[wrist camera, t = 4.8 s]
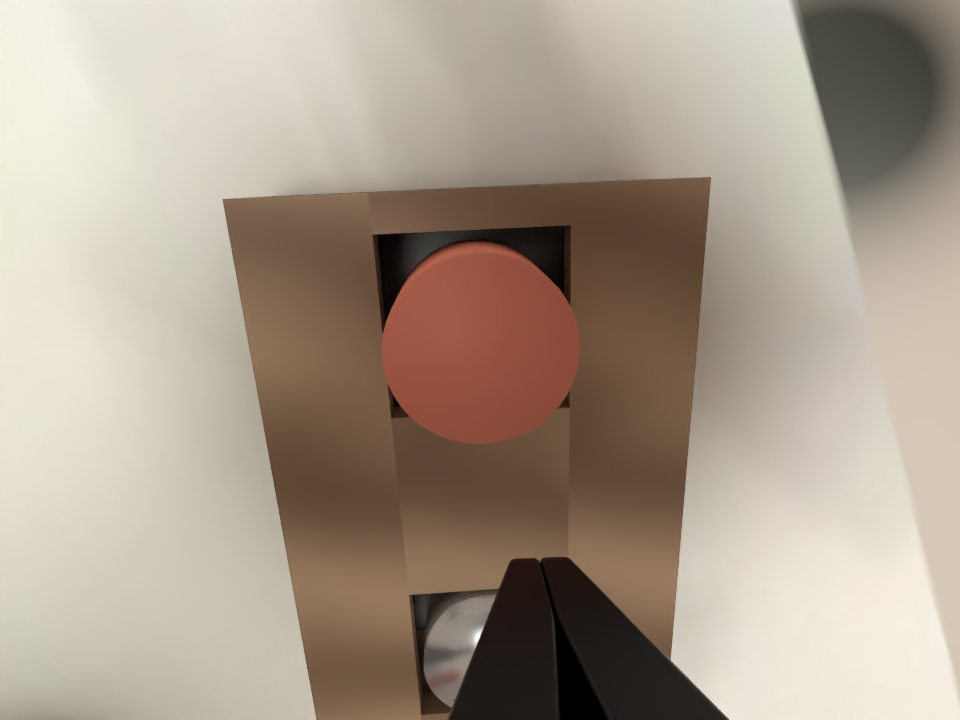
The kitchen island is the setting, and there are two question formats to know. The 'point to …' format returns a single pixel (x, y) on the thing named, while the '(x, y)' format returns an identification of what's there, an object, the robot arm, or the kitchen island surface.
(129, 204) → the kitchen island surface
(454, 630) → the grey plunger
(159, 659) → the kitchen island surface
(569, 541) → the press box
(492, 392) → the pink round plug
